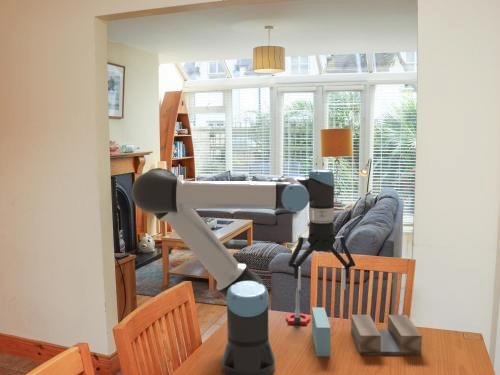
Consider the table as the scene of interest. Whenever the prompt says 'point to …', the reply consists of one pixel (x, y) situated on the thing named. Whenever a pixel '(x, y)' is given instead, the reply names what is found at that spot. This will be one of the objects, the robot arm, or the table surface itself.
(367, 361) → the table surface
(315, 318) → the teal beam
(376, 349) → the grey grooved block
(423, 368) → the table surface
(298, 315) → the tow hook
